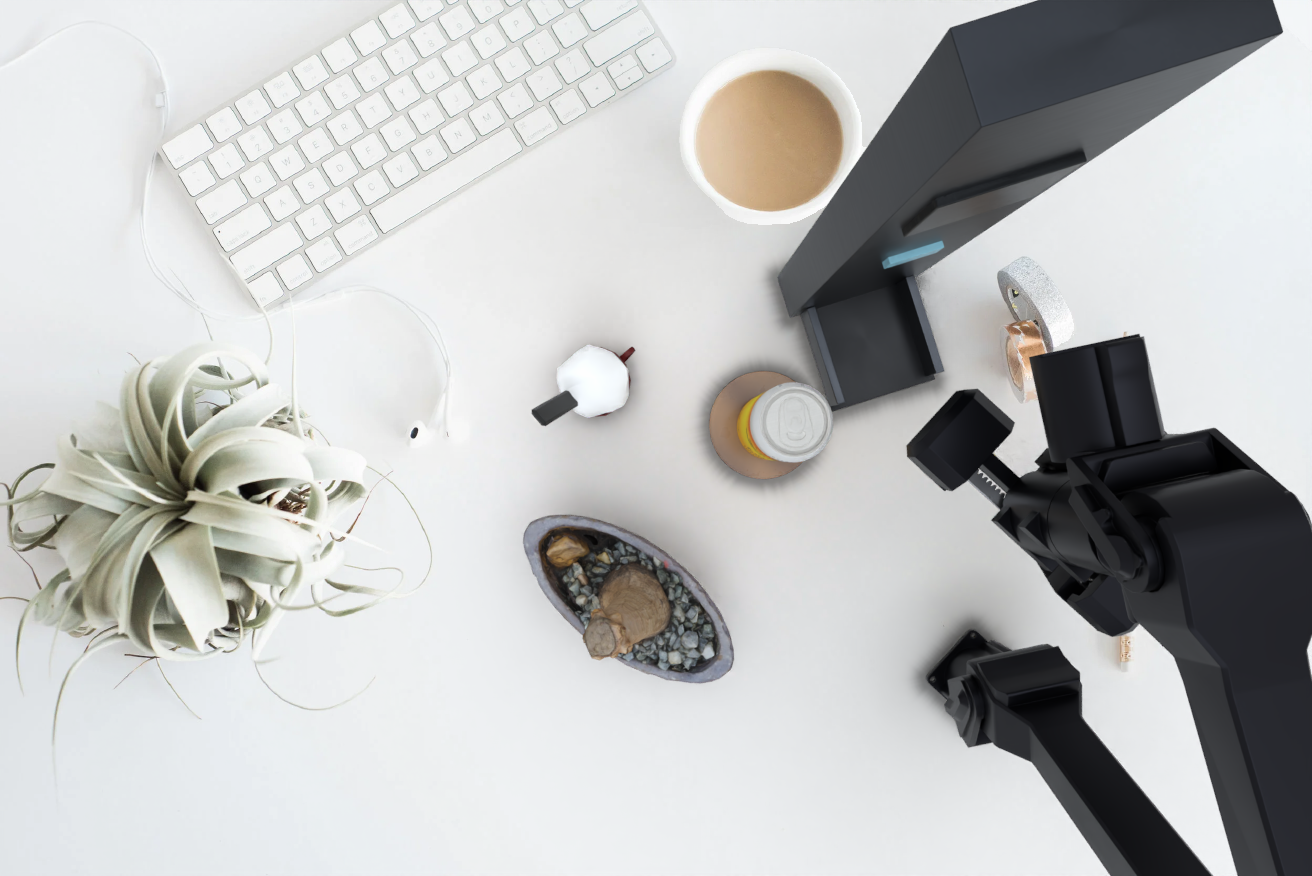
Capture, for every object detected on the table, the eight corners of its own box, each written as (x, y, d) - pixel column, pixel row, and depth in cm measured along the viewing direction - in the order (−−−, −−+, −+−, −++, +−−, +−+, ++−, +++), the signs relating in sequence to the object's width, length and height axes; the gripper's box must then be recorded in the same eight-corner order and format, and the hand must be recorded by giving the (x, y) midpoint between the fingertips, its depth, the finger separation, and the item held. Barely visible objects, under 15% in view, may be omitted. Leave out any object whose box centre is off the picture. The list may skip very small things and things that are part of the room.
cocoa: (631, 338, 77) (626, 318, 65) (652, 402, 77) (651, 393, 65) (534, 371, 77) (511, 357, 65) (556, 434, 77) (537, 432, 65)
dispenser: (943, 376, 77) (1362, 271, 31) (820, 415, 77) (1058, 367, 31) (899, 238, 77) (1252, -68, 31) (776, 276, 77) (949, 27, 31)
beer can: (739, 462, 77) (758, 466, 62) (733, 397, 77) (750, 385, 62) (804, 456, 77) (840, 458, 62) (798, 391, 77) (832, 377, 62)
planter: (536, 509, 77) (494, 531, 57) (716, 496, 77) (736, 514, 57) (548, 669, 77) (509, 747, 57) (728, 656, 77) (752, 730, 57)
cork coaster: (766, 501, 77) (766, 501, 77) (686, 428, 77) (687, 428, 77) (838, 421, 77) (839, 421, 77) (759, 349, 77) (760, 348, 77)
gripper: (1307, 527, 49) (1149, 507, 64) (1070, 311, 49) (970, 344, 64) (1179, 668, 48) (1052, 614, 64) (941, 452, 49) (873, 450, 64)
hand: (989, 503), depth 64 cm, fingers open, 9 cm apart
